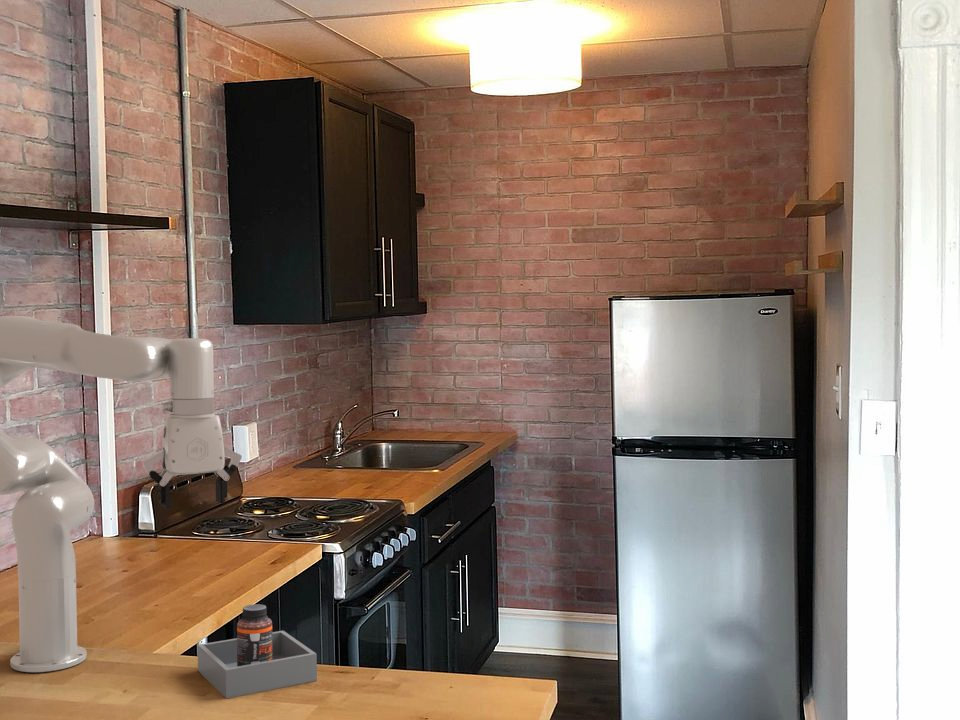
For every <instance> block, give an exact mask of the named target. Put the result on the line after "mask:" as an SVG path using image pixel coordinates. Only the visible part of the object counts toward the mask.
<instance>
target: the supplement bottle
mask: <svg viewBox="0 0 960 720" xmlns="http://www.w3.org/2000/svg"><path fill="white" fill-rule="evenodd" d="M267 610H268V609H267V606H266V605H265V604H259V603H257V604H255V603H254V604H248V605H244V606H243V607H242V618H241V619H239V620H238V622H237V624H236V638H237V667H238V666H243V665H249V664H254V663H260V662H265V661H271V660H272V632H273V621H272V619H271V618H269V616H268V615H267V614H268V612H267Z"/></svg>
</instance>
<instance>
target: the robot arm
mask: <svg viewBox="0 0 960 720" xmlns="http://www.w3.org/2000/svg"><path fill="white" fill-rule="evenodd" d="M214 364H215V363H214V345H213V342H212V341H211V340H209V339H207V338H198V337H197V338H196V337H195V338H192V337H191V338H190V337H189V338H175V339H171V338H165V337H158V336H154V337H153V336H149V337H148V336H147V337H142V336H141V337H130V336H121V335H112V334H111V335H110V334H105V333H98V332H94V331H88V330H85V329H83V328H82V327H81V326H79V325H78V324H74V323H67V322H66V323H65V322H59V321H58V322H57V321H48V320H41V319H39V318H36V317H33V316H28V315H1V316H0V390H1V389H2V388H4V387H5V386H7V385H8V384H9V383H11V382H12V381H14V380H15V379H17V378H18V377H20V375H22V374H23V373H25V372H26V371H28V370H29V369H30V368H31V367H32V368H38V369H45V370H50V371H59V372H66V373H69V374H77V375H83V376H88V377H92V378H93V377H94V378H99V379H108V380H116V381H122V382H123V381H124V382H132V383H133V382H135V383H136V382H144V381H153V380H158V379H165V378H168V379H169V399H168V400H167V402H161V407H160V408H161V411H162V412H163V411H165V412H168V414H169V416H166V418H165V423H164V426H163V427H164V429H163V435H162V445H161V447H162V448H161V450H159V451H157V452H156V453H154V454H152V455H151V456H148V457H147V458H145V459H144V460H143V461H142V460H141V465H142V466H143V469H144V470H145V472H146V473H147V476H148V477H149V478H150V479H151V480H152V481H154V482H155V483H156V484H157V485H158V487H157V489H158V490H157V491H158V504H159V505H161V507H162V508H163V509H165V510H167V509H168V510H169V509H170V508H171V486H170V485H169V481H171V480H172V478H173V477H174V476H179V475H180V476H181V475H182V476H185V475H198V474H206V473H207V474H209V473H210V474H211V473H214V474H215V475H216V477H217V479H216V480H215V502H217V503H219V504H221V505H222V504H225V502H226V499H228V481H229V480H230V478H231V476H232V475H233V474H234V473H235V472H236V471H237V469H238V466H239V464H240V462H241V459H242V455H241V454H240V453H238V452H235V451H234V450H231V449H229V448H227V447H225V446H224V445H225V444H224V437H223V428H222V423H221V418H220V415H219V414H215V392H214V391H215V390H214V386H215V382H214V381H215V380H214V379H215V377H214V375H215V374H214V372H215V371H214ZM225 457H228V458H230V461H229V464H228V465H227V466H226V467H225V463H226V461H225V459H226V458H225ZM160 461H161V467H162V469H163V470H162V471H161V473H158V472H157V471H156V470H155V467H154V465H155V464H157V463H159V462H160ZM21 491H22V492H24V493H23V494H22V495H21V496H20V497H18V499H17V500H16V502H15V503H14V506H13V509H12V513H11V525H12V532H13V537H14V542H15V547H16V548H15V549H16V558H17V578H18V580H17V581H18V583H17V585H18V625H19V628H18V629H19V652H17V653H16V654H14V655H13V656H12V657H11V658H10V660H9V661H10V662H9V663H10V664H9V665H10V668H11V669H13V670H14V671H17V672H23V673H24V672H25V673H45V672H46V673H47V672H53V671H54V672H55V671H59V670H65V669H67V668H71V667H74V666H76V665H78V664H81V663H82V662H84V661H85V660H86V659H87V655H88V654H87V649H86V648H85V647H83V646H80V645H78V618H77V617H78V616H77V615H78V613H77V612H78V611H77V610H78V609H77V570H76V567H77V565H76V555H75V548H74V546H73V545H74V544H73V541H72V538H71V532H70V531H72V530H75V529H78V528H79V527H81V526H82V525H84V524H85V523H87V522H88V521H89V520H90V518H91V517H92V515H93V513H94V510H95V498H94V495H93V491H92V490H91V489H90V487H89V485H88V484H87V483H86V482H85V480H84V479H83V478H82V477H81V476H80V475H79V474H78V473H77V472H76V471H75V470H74V469H73V468H72V467H71V466H70V465H69V464H68V462H66V461H65V460H64V458H62V457H61V455H60V454H59V453H58V452H57V451H55V449H54V448H53V447H51V445H49V444H47V443H46V441H43V440H41V439H39V438H36V437H31V436H22V437H21V436H20V437H15V438H13V437H11V436H9V434H7V433H6V432H5V431H4V430H3V429H2V428H1V427H0V495H2V496H3V495H5V496H6V495H11V494H15V493H18V492H21Z"/></svg>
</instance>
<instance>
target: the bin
mask: <svg viewBox="0 0 960 720" xmlns="http://www.w3.org/2000/svg"><path fill="white" fill-rule="evenodd" d="M317 656H318V655H317V653H316V652H315V651H313V650H312V649H311V648H309V647H307V646H306V645H305V644H303V643H302V642H301V641H299V640H298V639H296V638H295V637H293V636H292V635H291V634H289V633H288V632H286V631H285V630H278V631H272V660H271V661H265V662H260V663H254V664H249V665H243V666H238V667H237V637H236V638H231V639H225V640H219V641H213V642H206V643H201V644H197V672H198V673H200V675H201V676H202V677H204V679H206V681H208V683H210V684H211V685H212V686H213V687H214V689H216V690H217V691H218V692H219V693H220V694H221V695H222V696H223V697H224V698H225V699H231V698H236V697H242V696H247V695H252V694H257V693H261V692H262V693H263V692H268V691H272V690H276V689H281V688H287V687H292V686H297V685H303V684H307V683H312V682H313V683H314V682H317V681H318V664H317V663H318V661H317V659H318V657H317Z"/></svg>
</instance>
